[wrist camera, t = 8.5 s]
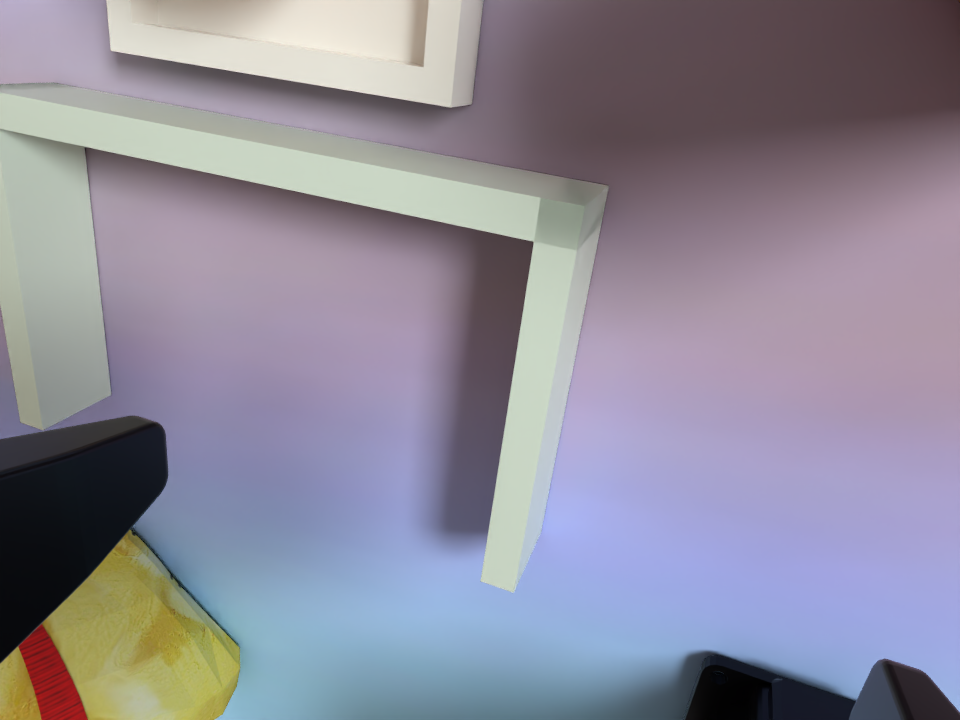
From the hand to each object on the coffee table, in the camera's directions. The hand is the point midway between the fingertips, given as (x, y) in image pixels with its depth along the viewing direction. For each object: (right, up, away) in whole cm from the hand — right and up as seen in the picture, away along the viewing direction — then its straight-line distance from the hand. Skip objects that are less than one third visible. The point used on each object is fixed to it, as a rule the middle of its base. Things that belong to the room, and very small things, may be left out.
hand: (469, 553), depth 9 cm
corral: (-6, +4, +14) cm, 16 cm away
